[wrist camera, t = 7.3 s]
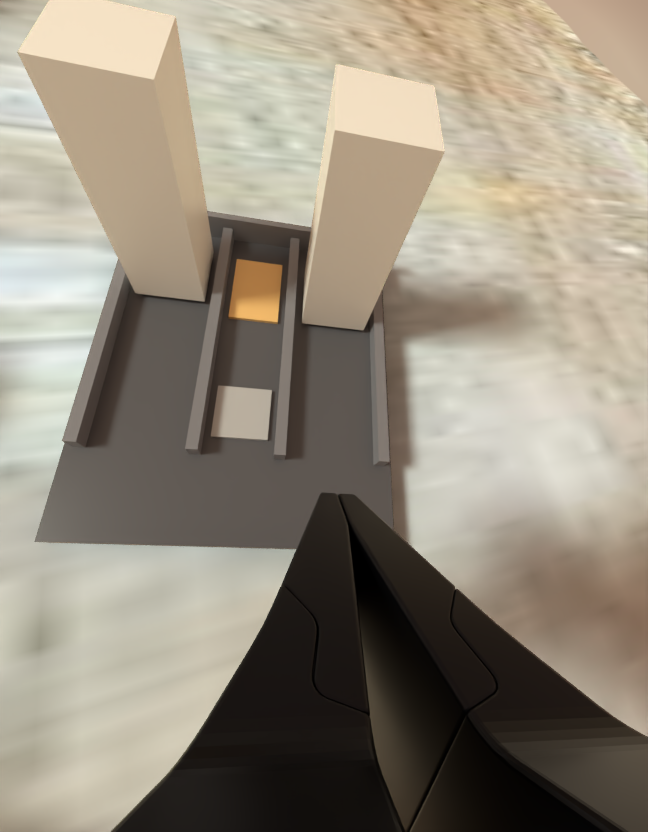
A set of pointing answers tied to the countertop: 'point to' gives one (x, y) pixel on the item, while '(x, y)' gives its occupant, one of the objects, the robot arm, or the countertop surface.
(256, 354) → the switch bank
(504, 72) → the countertop surface
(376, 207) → the cream tall block
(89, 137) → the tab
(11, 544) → the countertop surface
